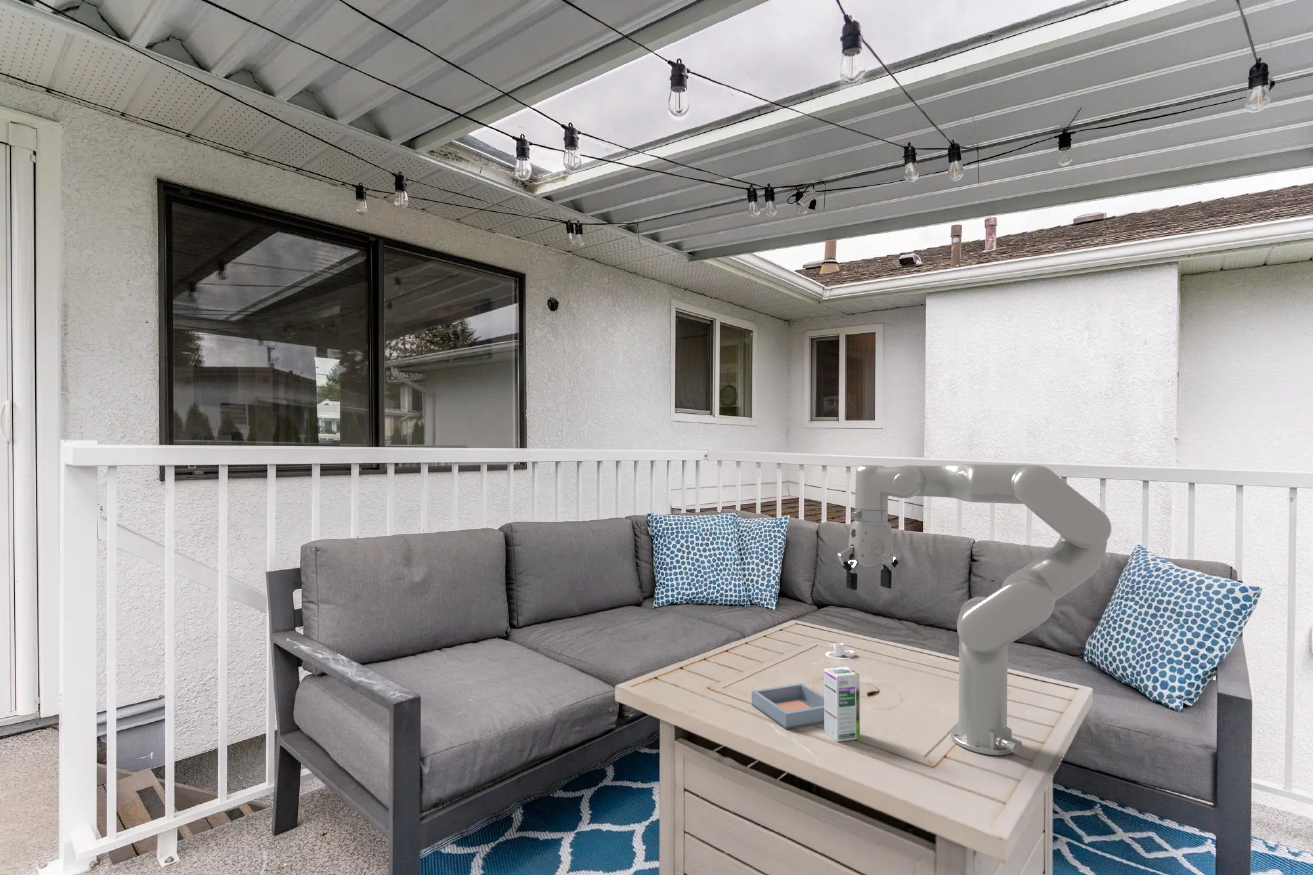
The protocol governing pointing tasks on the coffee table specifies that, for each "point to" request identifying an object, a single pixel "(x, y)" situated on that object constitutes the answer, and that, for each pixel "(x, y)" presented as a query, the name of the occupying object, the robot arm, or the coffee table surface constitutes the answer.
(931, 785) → the coffee table surface
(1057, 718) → the coffee table surface
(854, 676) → the syrup box
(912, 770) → the coffee table surface
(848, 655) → the teacup and saucer
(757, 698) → the box
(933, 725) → the coffee table surface
